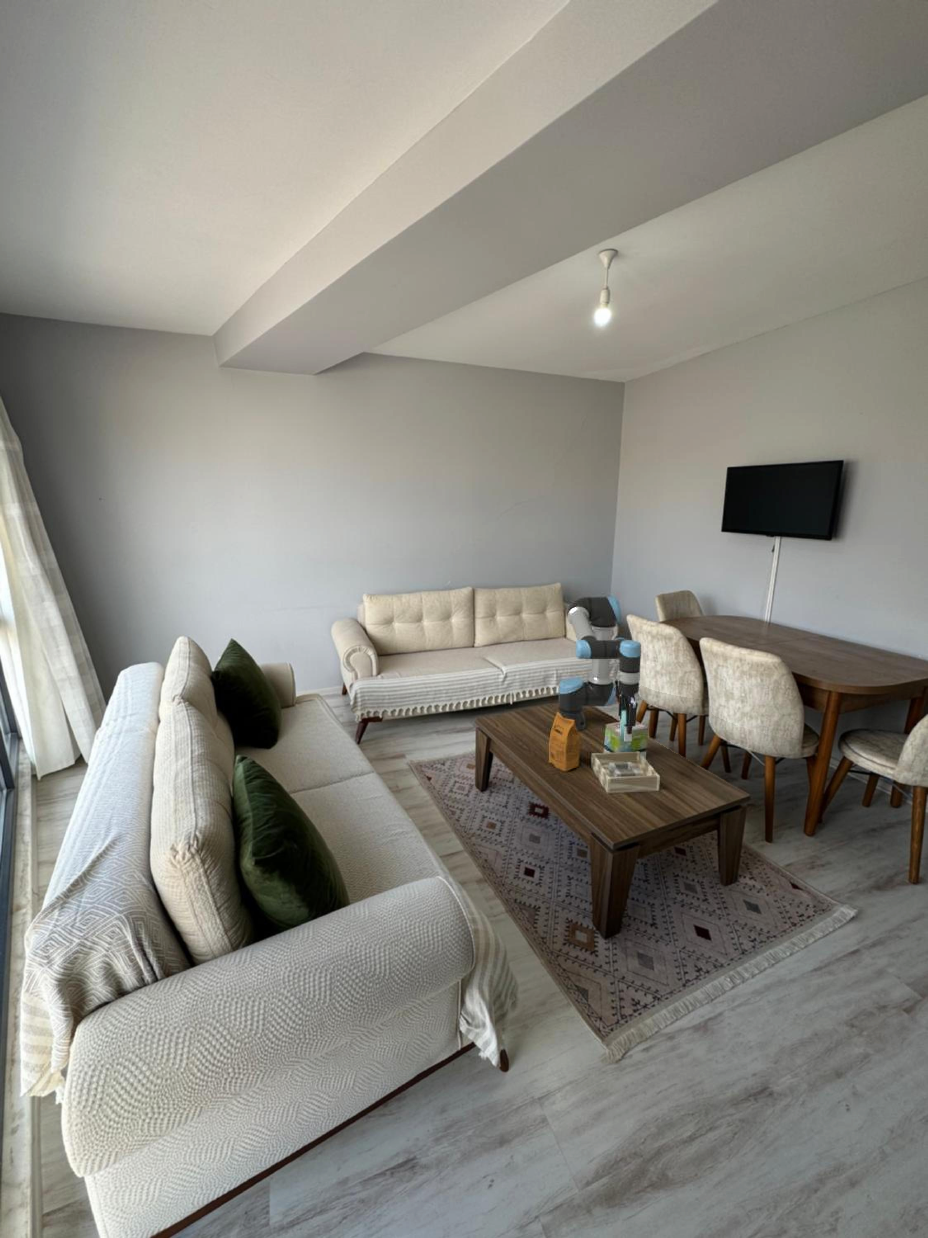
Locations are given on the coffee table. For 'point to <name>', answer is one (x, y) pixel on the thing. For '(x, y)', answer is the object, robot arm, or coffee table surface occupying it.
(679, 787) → the coffee table surface
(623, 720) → the peg
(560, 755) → the coffee package
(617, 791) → the open box
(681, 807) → the coffee table surface
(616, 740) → the tea box
